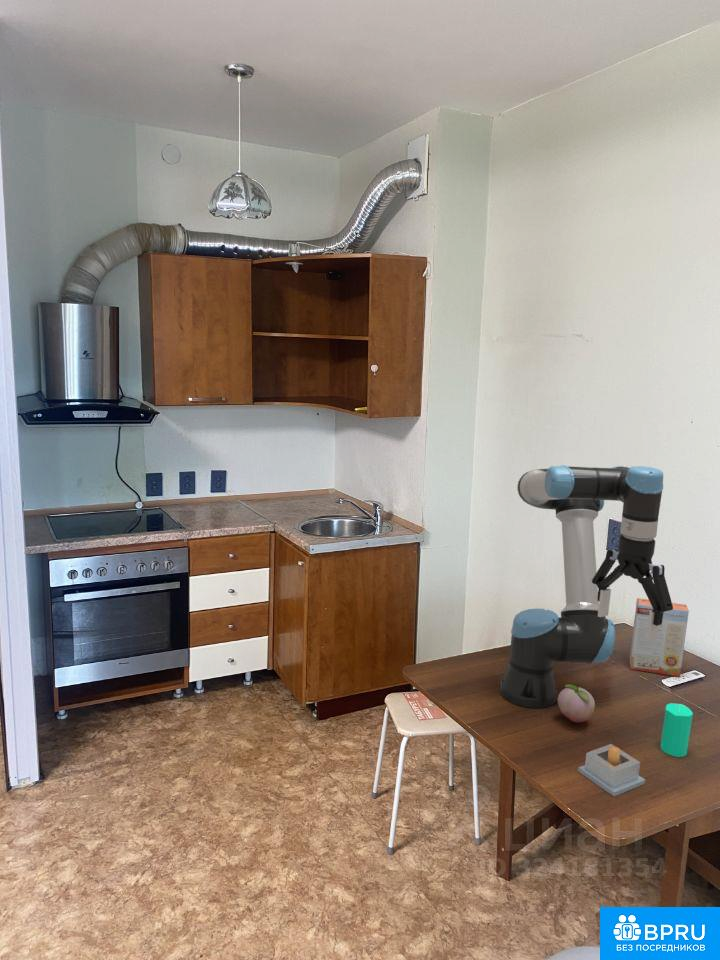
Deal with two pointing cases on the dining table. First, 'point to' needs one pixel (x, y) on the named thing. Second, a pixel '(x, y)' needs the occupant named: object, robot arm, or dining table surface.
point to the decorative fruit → (576, 703)
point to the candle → (676, 729)
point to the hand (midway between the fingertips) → (626, 626)
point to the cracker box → (659, 640)
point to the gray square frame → (612, 767)
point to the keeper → (614, 760)
